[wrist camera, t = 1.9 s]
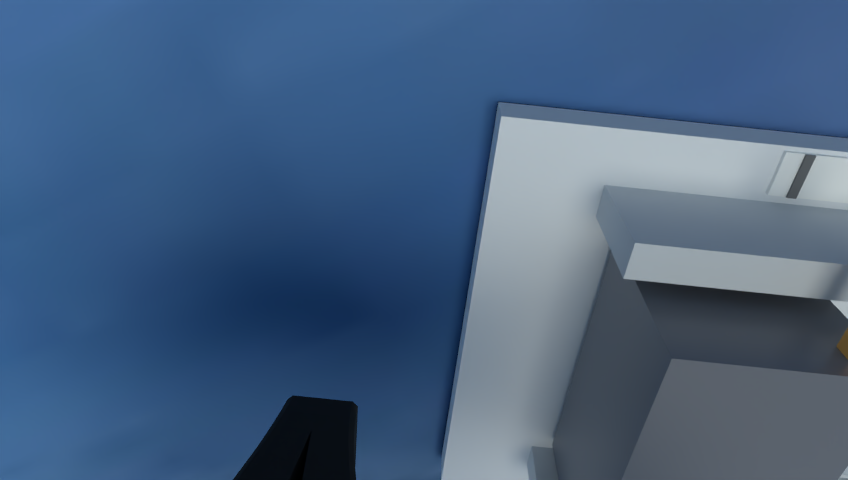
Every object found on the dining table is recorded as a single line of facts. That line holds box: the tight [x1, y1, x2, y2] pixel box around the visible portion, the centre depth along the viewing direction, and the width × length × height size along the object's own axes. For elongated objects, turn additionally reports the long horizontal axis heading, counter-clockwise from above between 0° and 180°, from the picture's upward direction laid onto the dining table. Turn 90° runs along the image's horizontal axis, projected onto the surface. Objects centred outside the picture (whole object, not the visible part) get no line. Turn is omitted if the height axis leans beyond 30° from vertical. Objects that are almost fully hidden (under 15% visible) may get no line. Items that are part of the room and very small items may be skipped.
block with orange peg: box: [552, 252, 848, 480], centre depth 12 cm, size 9×7×4 cm
